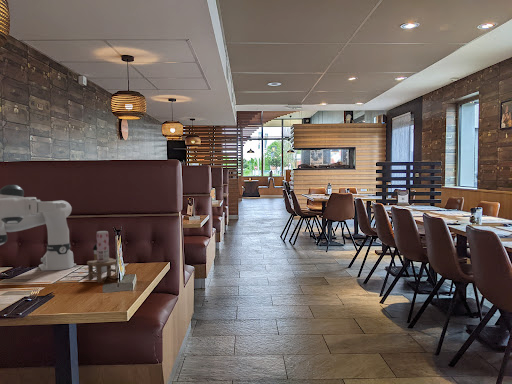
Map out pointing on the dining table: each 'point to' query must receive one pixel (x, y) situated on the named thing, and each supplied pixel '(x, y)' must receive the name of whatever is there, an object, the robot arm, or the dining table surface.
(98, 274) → the stool
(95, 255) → the coffee cup
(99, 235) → the beverage can
